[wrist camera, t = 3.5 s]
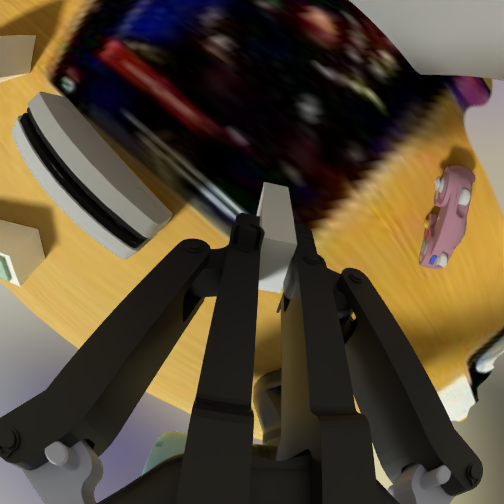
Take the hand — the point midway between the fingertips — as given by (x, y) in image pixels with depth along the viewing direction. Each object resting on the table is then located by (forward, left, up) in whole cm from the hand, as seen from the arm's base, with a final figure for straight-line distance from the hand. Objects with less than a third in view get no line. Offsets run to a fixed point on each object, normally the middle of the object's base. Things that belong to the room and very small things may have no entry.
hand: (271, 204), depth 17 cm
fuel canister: (+19, -4, -6) cm, 20 cm away
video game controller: (+2, -16, -6) cm, 17 cm away
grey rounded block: (-1, +15, -6) cm, 16 cm away
